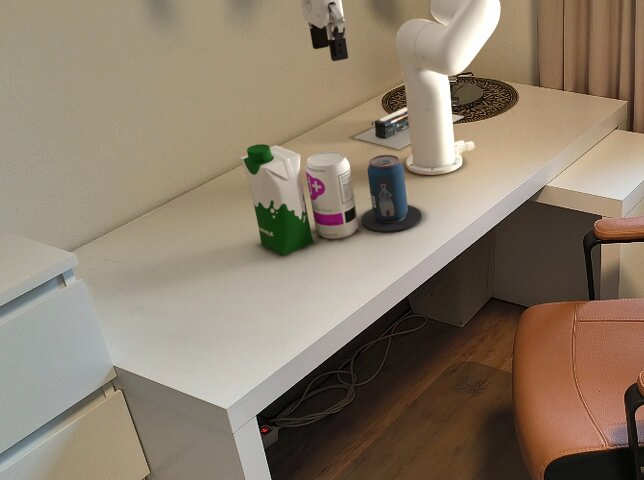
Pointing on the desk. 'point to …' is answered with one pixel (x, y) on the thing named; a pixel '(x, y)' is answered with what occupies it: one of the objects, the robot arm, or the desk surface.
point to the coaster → (375, 225)
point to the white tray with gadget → (392, 130)
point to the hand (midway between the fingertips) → (330, 53)
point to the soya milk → (278, 197)
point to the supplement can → (331, 195)
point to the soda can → (387, 188)
